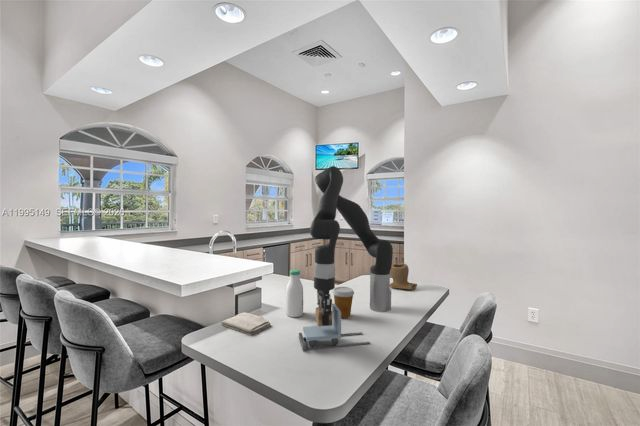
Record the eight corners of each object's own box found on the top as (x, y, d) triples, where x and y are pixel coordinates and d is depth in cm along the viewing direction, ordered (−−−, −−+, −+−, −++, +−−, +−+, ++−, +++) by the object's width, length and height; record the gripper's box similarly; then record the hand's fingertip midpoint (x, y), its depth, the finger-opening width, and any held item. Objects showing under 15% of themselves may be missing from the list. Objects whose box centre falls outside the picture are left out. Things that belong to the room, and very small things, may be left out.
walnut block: (328, 320, 111) (328, 306, 111) (332, 325, 106) (332, 311, 106) (315, 321, 110) (315, 307, 110) (318, 326, 105) (318, 312, 105)
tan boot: (386, 289, 176) (387, 264, 175) (392, 284, 186) (392, 260, 186) (413, 293, 169) (413, 267, 168) (417, 288, 179) (417, 263, 179)
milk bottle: (300, 318, 130) (300, 272, 130) (283, 316, 132) (283, 271, 131) (304, 312, 138) (305, 269, 137) (288, 310, 139) (289, 268, 139)
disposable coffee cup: (356, 314, 136) (356, 288, 135) (349, 321, 127) (349, 293, 127) (337, 310, 140) (337, 285, 139) (329, 317, 131) (329, 290, 131)
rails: (361, 332, 116) (361, 327, 116) (370, 344, 106) (371, 339, 106) (298, 338, 111) (298, 332, 111) (302, 351, 101) (302, 345, 101)
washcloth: (251, 337, 113) (251, 329, 112) (219, 326, 122) (219, 319, 122) (272, 326, 123) (272, 319, 122) (241, 317, 132) (241, 310, 132)
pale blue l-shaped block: (334, 333, 113) (334, 303, 113) (340, 344, 105) (341, 311, 104) (302, 336, 111) (303, 305, 110) (307, 347, 102) (307, 314, 102)
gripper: (310, 271, 114) (310, 315, 114) (318, 280, 99) (317, 331, 100) (329, 270, 115) (329, 314, 116) (339, 279, 101) (339, 329, 102)
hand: (323, 321), depth 108 cm, fingers closed on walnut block, 5 cm apart
